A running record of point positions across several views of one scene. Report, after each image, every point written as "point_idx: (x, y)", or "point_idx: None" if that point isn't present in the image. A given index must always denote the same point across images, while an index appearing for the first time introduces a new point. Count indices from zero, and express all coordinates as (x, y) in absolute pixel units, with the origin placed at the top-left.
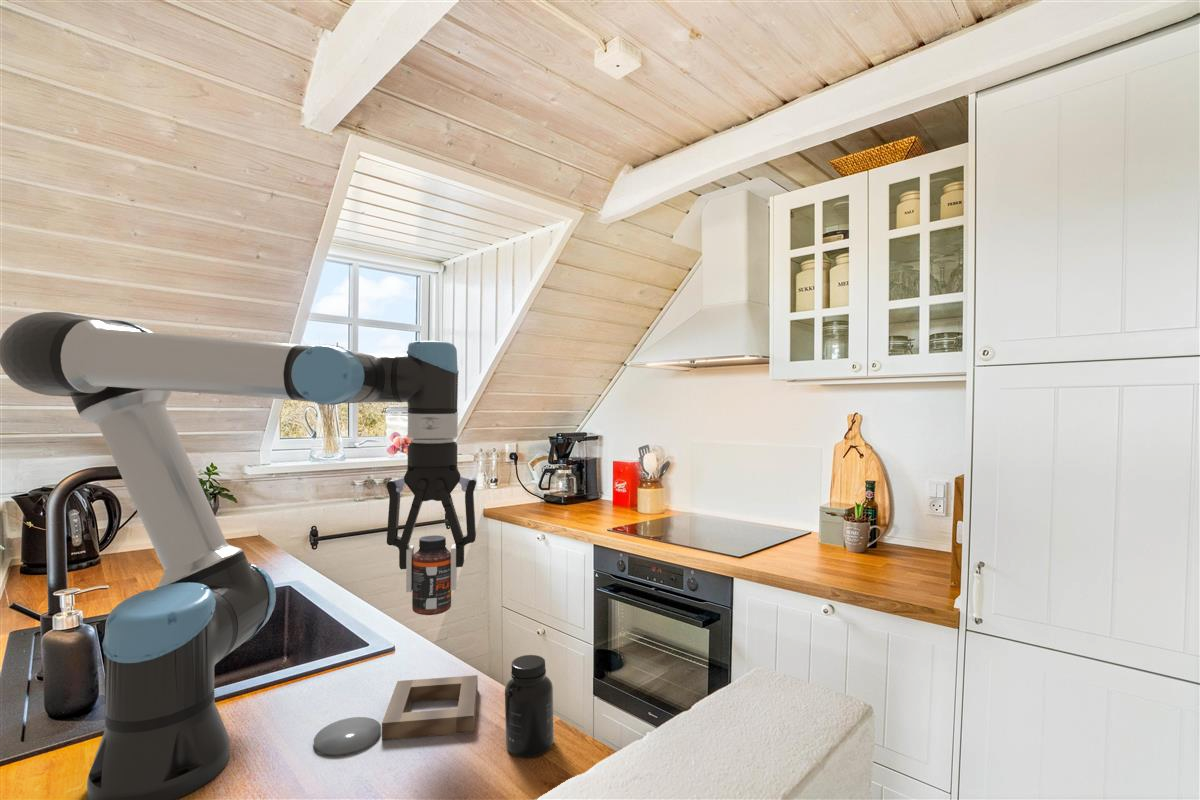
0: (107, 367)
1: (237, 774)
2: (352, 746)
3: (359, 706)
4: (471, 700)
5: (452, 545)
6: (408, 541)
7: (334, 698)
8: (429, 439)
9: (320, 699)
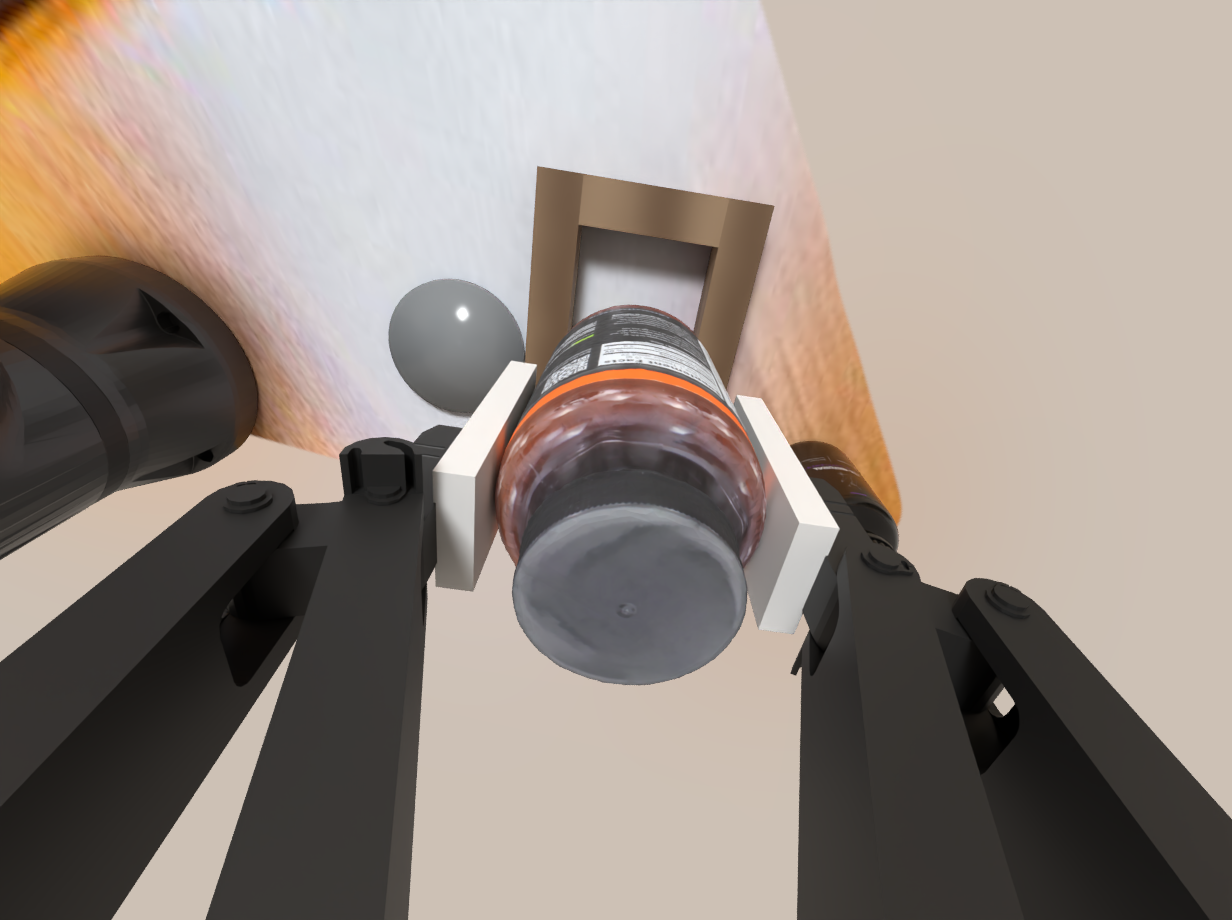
0: None
1: (292, 409)
2: (476, 402)
3: (451, 199)
4: (726, 354)
5: (790, 559)
6: (424, 613)
7: (368, 120)
8: None
9: (329, 114)
